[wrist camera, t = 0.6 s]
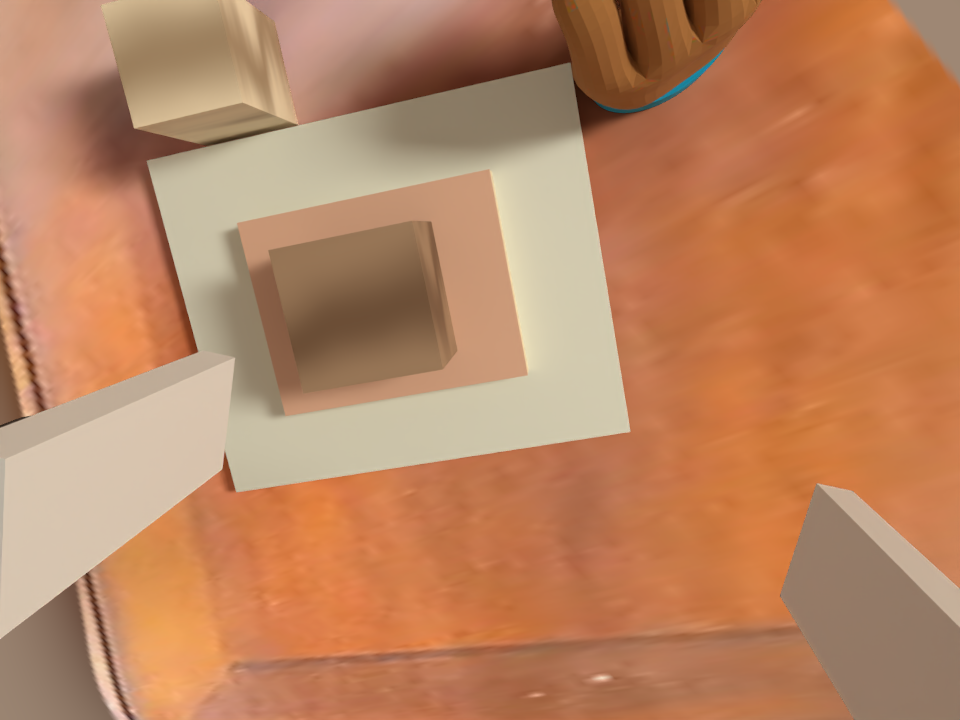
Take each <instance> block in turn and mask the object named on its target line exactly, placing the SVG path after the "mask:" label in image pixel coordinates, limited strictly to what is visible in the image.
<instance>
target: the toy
mask: <svg viewBox="0 0 960 720" xmlns="http://www.w3.org/2000/svg"><path fill="white" fill-rule="evenodd" d="M761 1H762V0H619V4H620V9H619V10H618V7H617V4H616V1H615V0H552V5H553V10H554V13H555V16H556V18H557V21H558V23H559V25H560V27H561V29H562V31H563V34H564V36H565V39H566V42H567V45H568V48H569V52H570V57H571V61H572V75H573V78H574V80H575V82H576V84H577V86H578V87H579V88H580V89H581V90H582V91H583V92H584V93H585V94H586V95H587V96H588V97H590V98H591V99H593V100H594V101H595V103H596V104H597V105H599V106H600V107H602V108H603V109H606V110H608V111H612V112H616V113H632V112H638V111H642V110H646V109H649V108H652V107H654V106H657V105H660V104H662V103H664V102H666V101H668V100H669V99H671V98H673V97H674V96H676V95H678V94H679V93H681V92H682V91H683V90H685V89H686V88H687V87H689V86H690V85H691V84H692V83H693V82H695V81H696V80H697V79H698V78H699V77H700V76H701V75H702V74H703V73H704V72H705V71H706V70H707V69H708V68H709V67H710V66H711V65H712V63H713V62H714V61H715V60H716V59H717V58H718V56H719V55H720V54H721V52H722V51H723V50H724V48H725V47H726V46H727V44H728V43H729V42H730V41H731V40H732V38H733V37H734V35H735V34H736V32H737V31H738V29H740V28H741V27H742V26H743V25H744V24H745V23H746V22H747V20H748V19H749V18H750V17H751V16H752V15H753V14H754V12H755V10H756V9H757V7H758V6H759V4H760V2H761Z"/></svg>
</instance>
